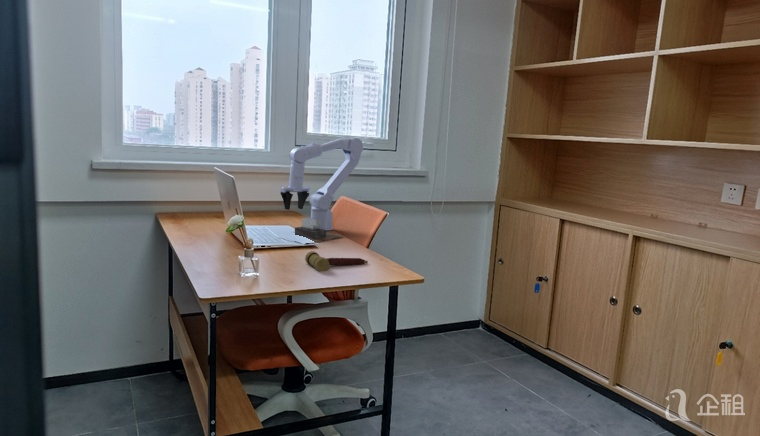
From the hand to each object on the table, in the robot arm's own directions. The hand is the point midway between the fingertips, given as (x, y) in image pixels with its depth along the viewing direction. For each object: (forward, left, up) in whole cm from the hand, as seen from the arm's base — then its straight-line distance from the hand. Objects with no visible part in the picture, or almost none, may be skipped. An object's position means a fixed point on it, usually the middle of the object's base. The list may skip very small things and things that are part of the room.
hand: (293, 209), depth 229 cm
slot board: (+3, +13, -9) cm, 17 cm away
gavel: (+26, +50, -10) cm, 57 cm away
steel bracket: (+3, +13, -9) cm, 16 cm away
